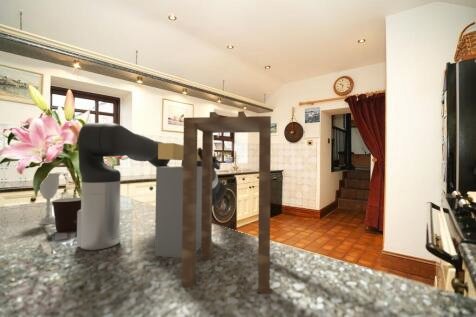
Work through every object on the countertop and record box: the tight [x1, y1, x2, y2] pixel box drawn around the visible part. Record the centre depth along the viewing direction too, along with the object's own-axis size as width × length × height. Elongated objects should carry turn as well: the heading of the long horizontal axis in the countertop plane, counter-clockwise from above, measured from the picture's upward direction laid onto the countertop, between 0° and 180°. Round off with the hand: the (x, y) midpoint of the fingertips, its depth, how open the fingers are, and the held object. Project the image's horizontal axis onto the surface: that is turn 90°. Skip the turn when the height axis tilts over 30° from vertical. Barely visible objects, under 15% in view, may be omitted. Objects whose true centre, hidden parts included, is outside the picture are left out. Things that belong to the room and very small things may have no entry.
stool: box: [181, 110, 272, 295], centre depth 48 cm, size 16×14×32 cm
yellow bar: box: [158, 142, 202, 161], centre depth 62 cm, size 4×22×4 cm, turn 172°
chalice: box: [38, 172, 61, 226], centre depth 85 cm, size 7×7×18 cm
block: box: [154, 165, 202, 259], centre depth 62 cm, size 9×14×22 cm, turn 172°
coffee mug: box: [52, 197, 81, 234], centre depth 78 cm, size 12×9×10 cm
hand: (192, 150), depth 69 cm, fingers closed on yellow bar, 3 cm apart
